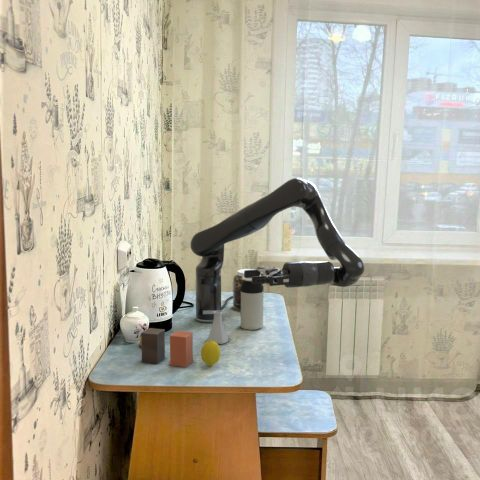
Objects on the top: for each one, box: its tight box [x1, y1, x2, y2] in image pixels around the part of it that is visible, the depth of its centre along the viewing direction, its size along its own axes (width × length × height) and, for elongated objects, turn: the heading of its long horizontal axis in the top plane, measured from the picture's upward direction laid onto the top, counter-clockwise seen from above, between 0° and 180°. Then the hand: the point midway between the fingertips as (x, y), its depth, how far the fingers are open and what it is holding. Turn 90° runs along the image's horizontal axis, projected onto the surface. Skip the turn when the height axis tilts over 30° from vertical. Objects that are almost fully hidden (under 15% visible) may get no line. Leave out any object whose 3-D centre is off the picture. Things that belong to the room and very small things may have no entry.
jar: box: [232, 268, 264, 312], centre depth 235 cm, size 12×12×15 cm
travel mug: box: [240, 276, 265, 331], centre depth 211 cm, size 8×8×18 cm
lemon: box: [200, 340, 221, 367], centre depth 173 cm, size 6×6×8 cm
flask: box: [206, 310, 229, 345], centre depth 195 cm, size 7×7×10 cm
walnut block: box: [140, 327, 166, 365], centre depth 177 cm, size 5×5×9 cm
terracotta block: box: [169, 330, 194, 368], centre depth 175 cm, size 5×5×9 cm
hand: (248, 277), depth 173 cm, fingers open, 8 cm apart
